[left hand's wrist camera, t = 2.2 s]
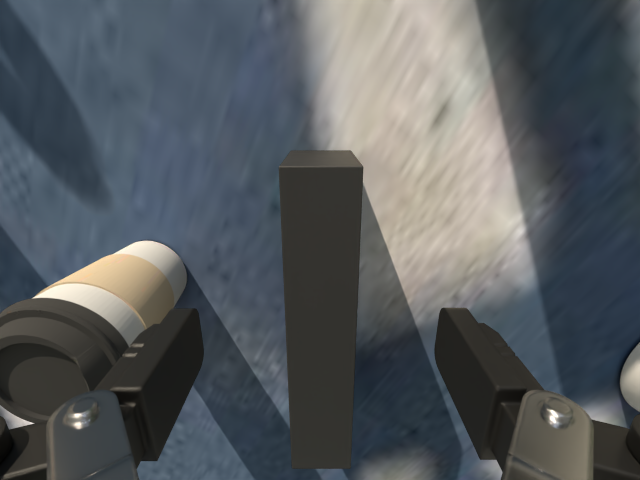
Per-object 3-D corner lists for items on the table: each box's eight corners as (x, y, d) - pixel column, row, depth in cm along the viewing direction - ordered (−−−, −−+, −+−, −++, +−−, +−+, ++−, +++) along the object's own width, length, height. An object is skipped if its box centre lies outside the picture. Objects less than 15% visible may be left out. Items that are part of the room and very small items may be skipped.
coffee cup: (118, 314, 35) (-14, 447, 21) (94, 231, 32) (-80, 324, 18) (205, 311, 35) (129, 443, 21) (190, 228, 32) (88, 318, 18)
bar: (290, 150, 30) (278, 166, 21) (351, 150, 30) (363, 166, 21) (298, 391, 39) (291, 469, 31) (344, 391, 39) (350, 469, 31)
